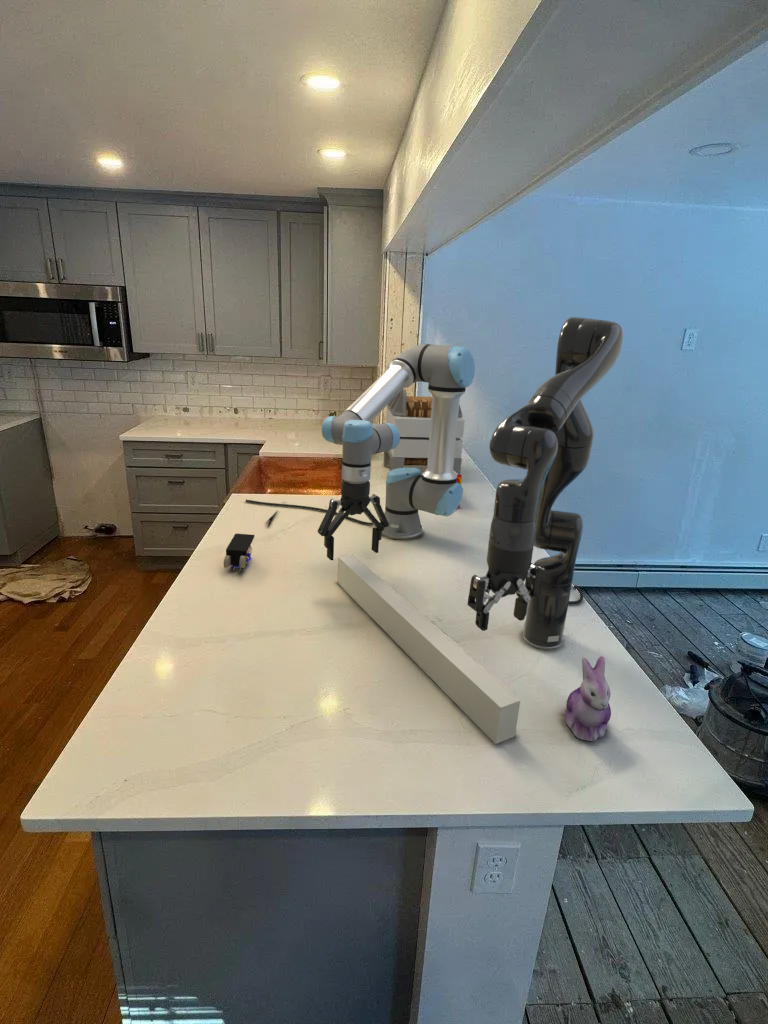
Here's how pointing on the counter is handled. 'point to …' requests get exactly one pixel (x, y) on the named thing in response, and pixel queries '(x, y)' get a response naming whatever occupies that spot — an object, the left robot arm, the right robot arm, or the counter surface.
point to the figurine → (590, 703)
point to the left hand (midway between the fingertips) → (352, 554)
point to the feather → (271, 519)
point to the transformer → (415, 432)
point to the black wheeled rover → (238, 551)
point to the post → (433, 651)
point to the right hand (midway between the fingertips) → (500, 623)
